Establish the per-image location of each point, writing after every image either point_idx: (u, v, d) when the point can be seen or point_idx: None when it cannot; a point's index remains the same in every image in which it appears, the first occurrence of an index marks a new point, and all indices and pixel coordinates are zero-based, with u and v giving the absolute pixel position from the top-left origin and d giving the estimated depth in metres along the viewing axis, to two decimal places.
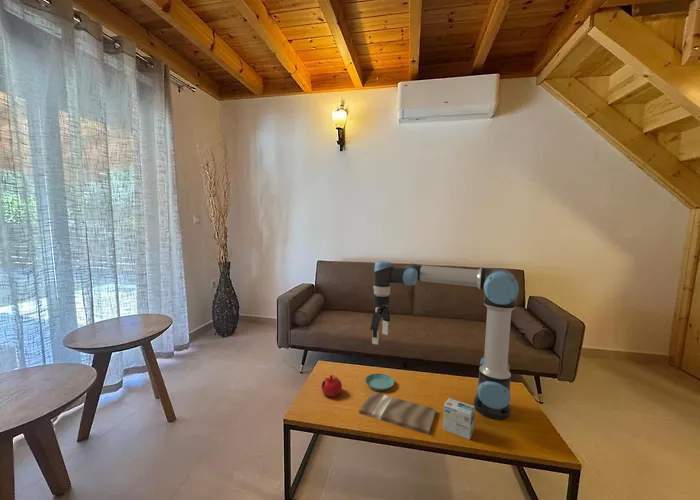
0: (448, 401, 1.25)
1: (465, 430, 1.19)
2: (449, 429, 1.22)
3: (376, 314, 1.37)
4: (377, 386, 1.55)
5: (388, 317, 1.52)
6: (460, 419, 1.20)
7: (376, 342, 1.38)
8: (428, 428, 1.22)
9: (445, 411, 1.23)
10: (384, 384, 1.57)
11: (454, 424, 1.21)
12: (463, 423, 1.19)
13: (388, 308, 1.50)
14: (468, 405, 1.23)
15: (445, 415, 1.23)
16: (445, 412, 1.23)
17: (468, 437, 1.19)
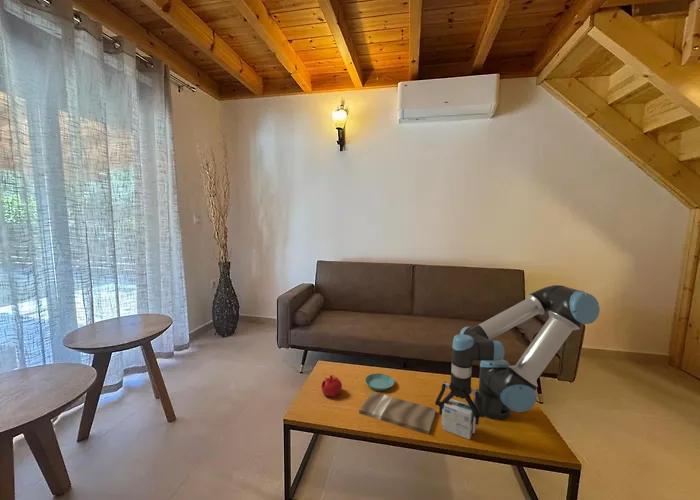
0: (448, 401, 1.25)
1: (465, 430, 1.19)
2: (449, 429, 1.22)
3: (441, 389, 1.25)
4: (377, 386, 1.55)
5: (480, 414, 1.19)
6: (460, 418, 1.20)
7: None
8: (428, 428, 1.22)
9: (445, 411, 1.23)
10: (384, 384, 1.57)
11: (454, 424, 1.21)
12: (463, 423, 1.19)
13: (478, 401, 1.18)
14: (468, 405, 1.23)
15: (445, 415, 1.23)
16: (445, 412, 1.23)
17: (468, 437, 1.19)
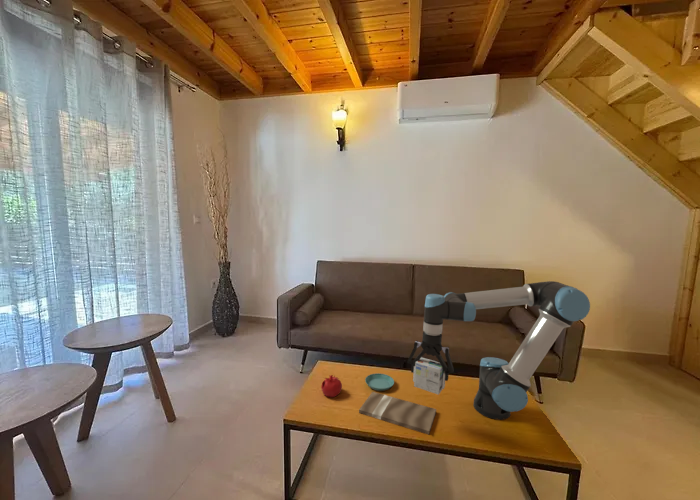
0: (420, 359, 1.29)
1: (435, 385, 1.22)
2: (420, 385, 1.26)
3: None
4: (377, 386, 1.55)
5: (449, 370, 1.23)
6: (430, 374, 1.23)
7: None
8: (428, 428, 1.22)
9: (416, 368, 1.26)
10: (384, 384, 1.57)
11: (424, 380, 1.25)
12: (433, 378, 1.23)
13: (448, 357, 1.22)
14: (439, 363, 1.27)
15: (416, 372, 1.26)
16: (416, 369, 1.26)
17: (437, 392, 1.22)
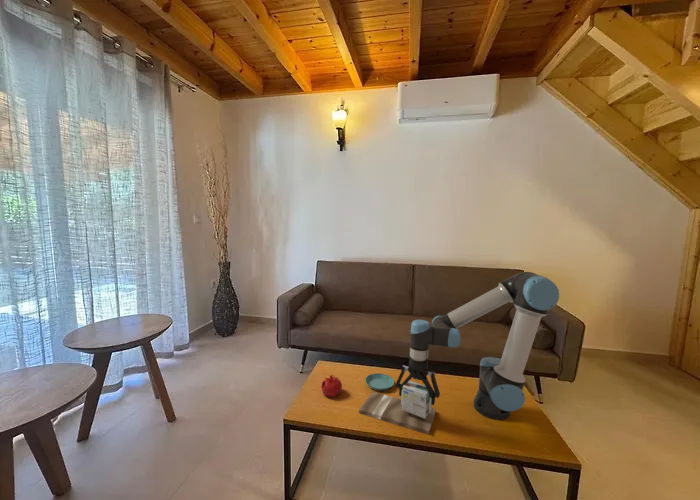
0: (407, 383, 1.32)
1: (421, 410, 1.26)
2: (407, 409, 1.29)
3: (401, 372, 1.32)
4: (377, 386, 1.55)
5: (435, 395, 1.26)
6: (417, 399, 1.27)
7: None
8: (428, 428, 1.22)
9: (404, 392, 1.30)
10: (384, 384, 1.57)
11: (411, 404, 1.28)
12: (419, 403, 1.26)
13: (433, 382, 1.25)
14: (425, 386, 1.30)
15: (404, 396, 1.30)
16: (404, 393, 1.30)
17: (424, 416, 1.25)
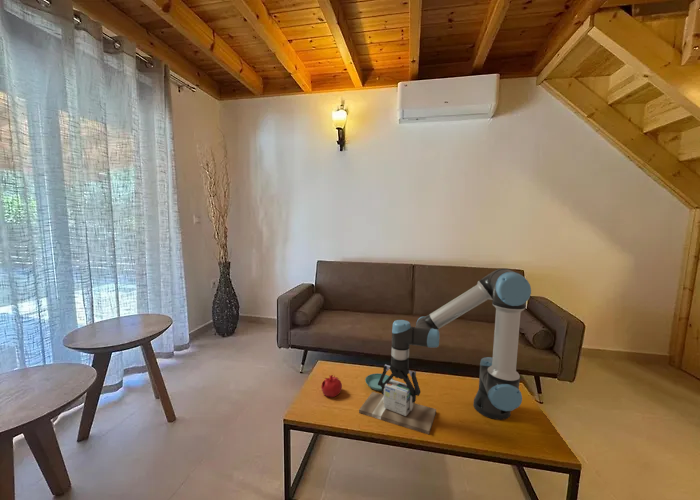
0: (389, 382, 1.36)
1: (402, 407, 1.29)
2: (389, 407, 1.33)
3: None
4: (377, 386, 1.55)
5: (416, 393, 1.29)
6: (398, 397, 1.30)
7: None
8: (428, 428, 1.22)
9: (385, 390, 1.33)
10: None
11: (393, 402, 1.32)
12: (400, 401, 1.30)
13: (414, 381, 1.29)
14: None
15: (386, 394, 1.33)
16: (385, 391, 1.33)
17: (405, 414, 1.29)
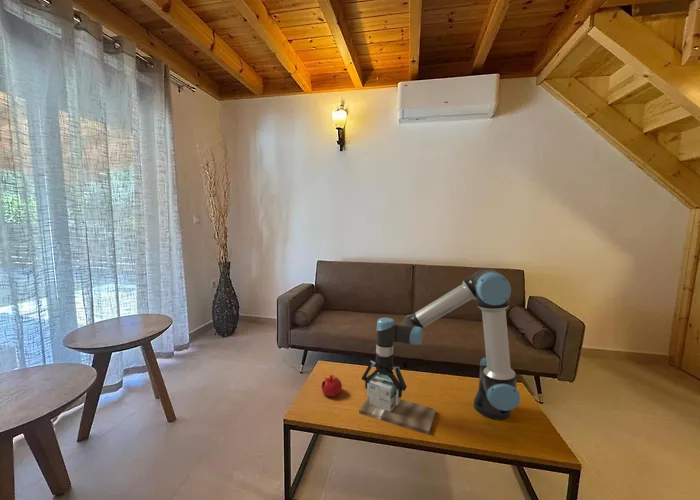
0: (375, 379, 1.39)
1: (387, 404, 1.32)
2: (374, 403, 1.36)
3: (368, 366, 1.39)
4: None
5: (402, 388, 1.32)
6: (382, 393, 1.33)
7: None
8: (428, 428, 1.22)
9: (370, 387, 1.36)
10: None
11: (377, 398, 1.35)
12: (385, 397, 1.33)
13: (398, 376, 1.32)
14: (391, 382, 1.36)
15: (371, 391, 1.36)
16: (371, 388, 1.36)
17: (389, 410, 1.32)
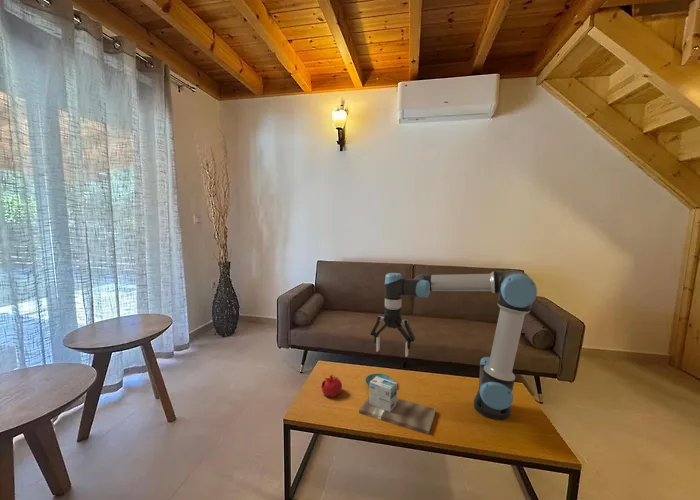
0: (375, 379, 1.39)
1: (387, 404, 1.32)
2: (374, 403, 1.36)
3: (377, 321, 1.42)
4: None
5: (411, 339, 1.36)
6: (382, 393, 1.33)
7: None
8: (428, 428, 1.22)
9: (370, 387, 1.36)
10: None
11: (377, 398, 1.35)
12: (385, 397, 1.33)
13: (407, 328, 1.36)
14: (391, 382, 1.36)
15: (371, 391, 1.36)
16: (371, 388, 1.36)
17: (389, 410, 1.32)
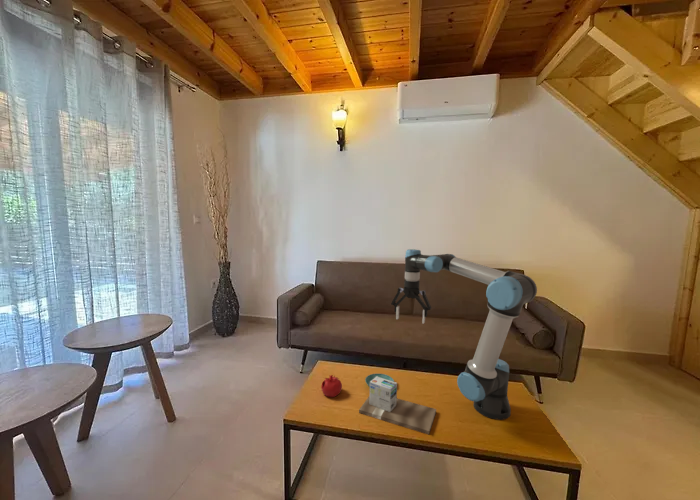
0: (375, 379, 1.39)
1: (387, 404, 1.32)
2: (374, 403, 1.36)
3: (397, 292, 1.59)
4: None
5: (427, 308, 1.53)
6: (382, 393, 1.33)
7: None
8: (428, 428, 1.22)
9: (370, 387, 1.36)
10: None
11: (377, 398, 1.35)
12: (385, 397, 1.33)
13: (425, 298, 1.53)
14: (391, 382, 1.36)
15: (371, 391, 1.36)
16: (371, 388, 1.36)
17: (389, 410, 1.32)
